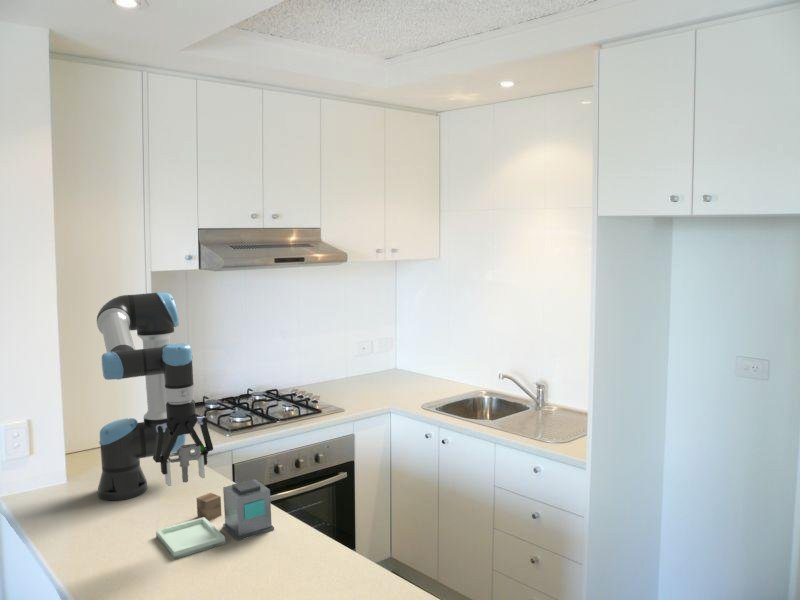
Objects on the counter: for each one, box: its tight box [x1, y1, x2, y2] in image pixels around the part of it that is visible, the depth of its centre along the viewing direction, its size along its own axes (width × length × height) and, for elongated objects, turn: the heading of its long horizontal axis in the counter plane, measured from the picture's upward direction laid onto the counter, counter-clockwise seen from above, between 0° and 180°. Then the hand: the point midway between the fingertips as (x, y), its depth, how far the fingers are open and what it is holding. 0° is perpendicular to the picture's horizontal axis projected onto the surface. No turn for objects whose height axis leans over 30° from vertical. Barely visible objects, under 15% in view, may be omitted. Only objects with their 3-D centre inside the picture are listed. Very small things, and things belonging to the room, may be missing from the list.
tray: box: [155, 517, 226, 560], centre depth 197 cm, size 16×14×2 cm
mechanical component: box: [167, 443, 204, 483], centre depth 195 cm, size 3×10×10 cm, turn 110°
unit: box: [222, 479, 275, 542], centre depth 204 cm, size 11×11×13 cm
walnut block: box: [196, 492, 222, 522], centre depth 213 cm, size 5×5×6 cm
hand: (185, 480), depth 195 cm, fingers closed on mechanical component, 9 cm apart
